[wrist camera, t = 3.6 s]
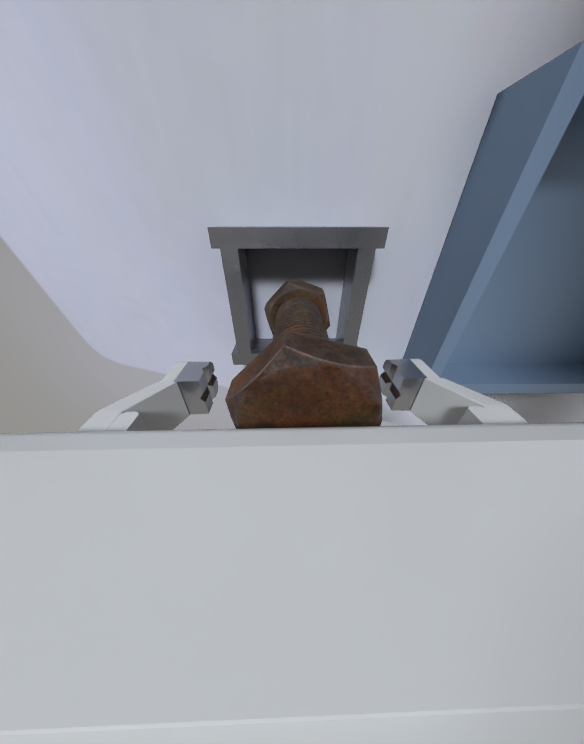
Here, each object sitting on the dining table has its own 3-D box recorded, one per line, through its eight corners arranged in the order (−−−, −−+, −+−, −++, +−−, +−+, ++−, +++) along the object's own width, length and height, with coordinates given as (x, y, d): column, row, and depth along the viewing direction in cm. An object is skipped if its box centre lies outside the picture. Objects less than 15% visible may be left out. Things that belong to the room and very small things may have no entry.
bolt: (335, 277, 19) (425, 384, 6) (317, 329, 21) (354, 472, 9) (270, 258, 18) (228, 339, 5) (260, 315, 20) (217, 453, 8)
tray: (822, 95, 13) (1037, 44, 9) (571, 367, 24) (621, 392, 21) (497, 93, 13) (583, 41, 9) (399, 368, 24) (419, 394, 21)
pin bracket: (373, 226, 16) (388, 227, 14) (351, 348, 23) (358, 363, 20) (219, 226, 16) (207, 227, 14) (239, 349, 23) (233, 364, 20)
